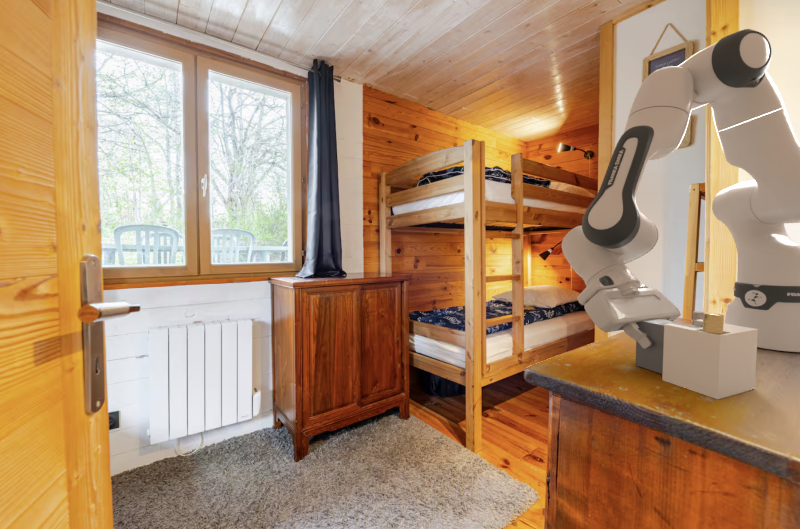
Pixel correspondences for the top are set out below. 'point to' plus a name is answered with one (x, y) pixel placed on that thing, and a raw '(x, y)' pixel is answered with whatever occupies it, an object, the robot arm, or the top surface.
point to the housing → (710, 359)
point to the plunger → (713, 323)
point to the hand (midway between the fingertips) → (661, 344)
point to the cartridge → (654, 354)
